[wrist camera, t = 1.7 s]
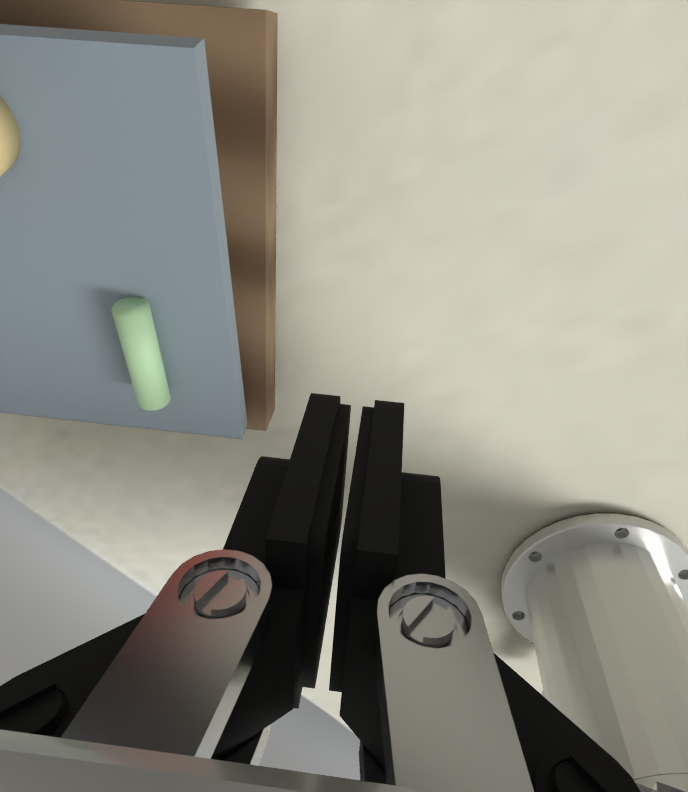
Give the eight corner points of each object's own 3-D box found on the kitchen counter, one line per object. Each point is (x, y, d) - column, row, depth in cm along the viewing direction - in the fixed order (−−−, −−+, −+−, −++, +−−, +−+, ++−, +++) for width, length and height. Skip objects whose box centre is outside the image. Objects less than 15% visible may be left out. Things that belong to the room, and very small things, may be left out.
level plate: (247, 422, 34) (233, 467, 32) (-63, 389, 35) (-98, 430, 33) (204, 37, 21) (174, 67, 19) (-289, 4, 22) (-374, 27, 20)
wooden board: (279, 396, 38) (266, 430, 35) (-32, 364, 39) (-75, 393, 36) (283, 15, 28) (265, 9, 25) (-131, -13, 29) (-203, -21, 26)
